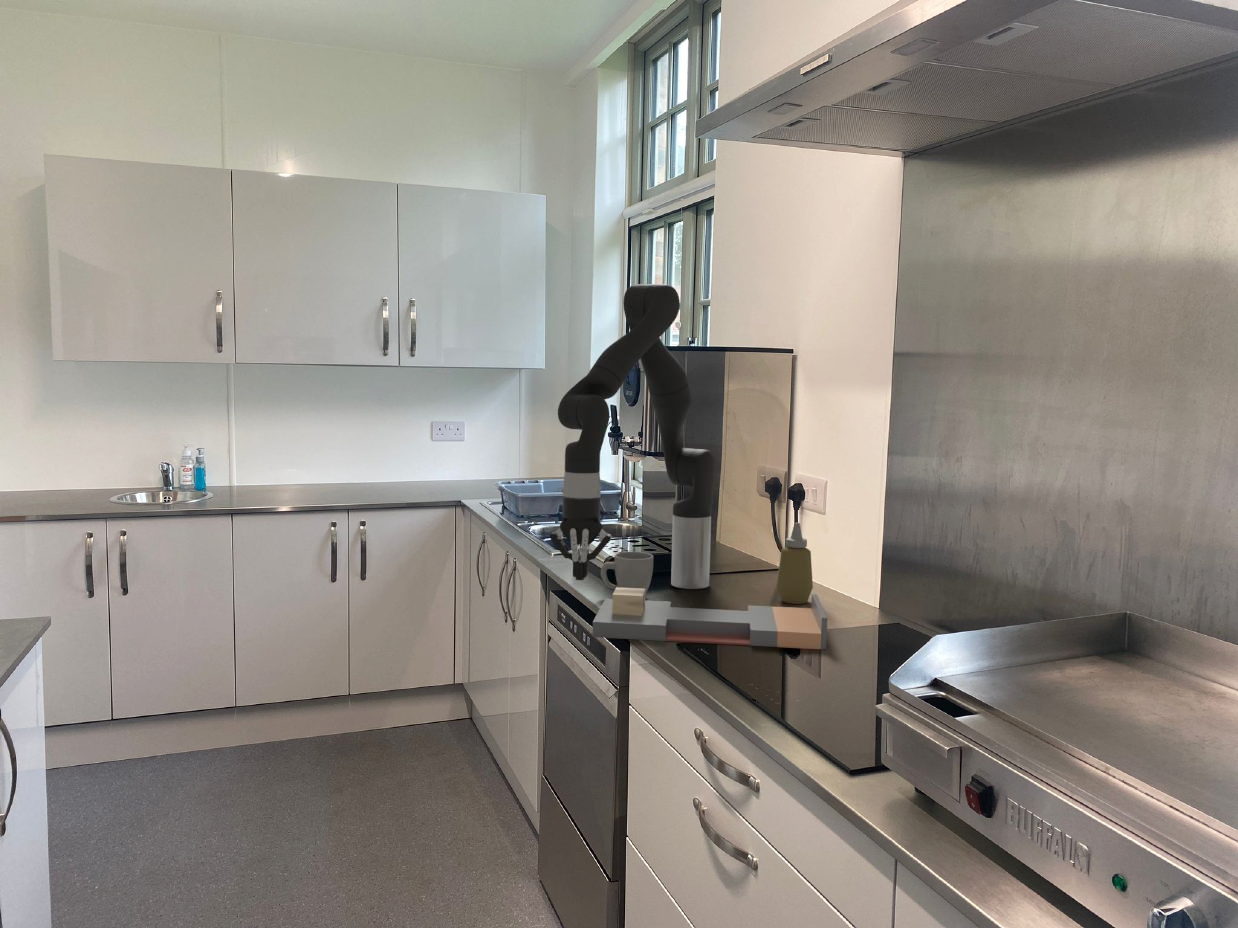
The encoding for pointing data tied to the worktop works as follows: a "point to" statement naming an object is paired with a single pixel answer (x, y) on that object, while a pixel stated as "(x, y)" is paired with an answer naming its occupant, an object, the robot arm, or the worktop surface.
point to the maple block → (628, 601)
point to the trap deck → (718, 625)
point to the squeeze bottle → (795, 569)
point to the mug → (630, 570)
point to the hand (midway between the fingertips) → (579, 579)
